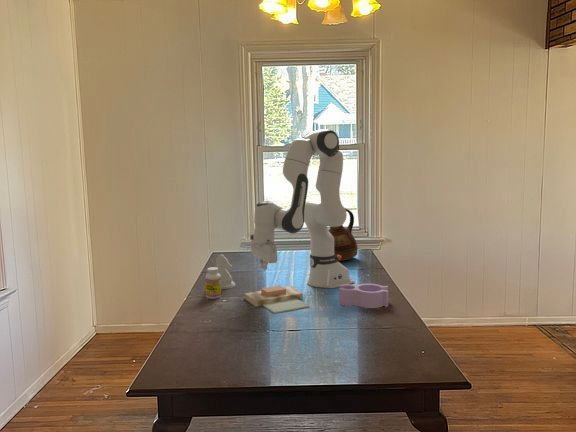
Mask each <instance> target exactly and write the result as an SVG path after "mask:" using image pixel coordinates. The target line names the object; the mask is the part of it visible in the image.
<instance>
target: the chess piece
mask: <svg viewBox="0 0 576 432" xmlns="http://www.w3.org/2000/svg"><path fill="white" fill-rule="evenodd" d="M215 267H217V268H218V273H219V274H220V275H221V290H229V289H234V288H235V287H236V283H235V281H233V276H232V275H231V274H230V272H232V270H233V265H232V264H230V262H229V260H228V258H227V257H225V255H224V254H219V255H218V256H217V257H216V259H215Z"/></svg>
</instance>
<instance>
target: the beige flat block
mask: <svg viewBox="0 0 576 432" xmlns="http://www.w3.org/2000/svg"><path fill="white" fill-rule="evenodd" d="M282 287H283V288H285V289H286V294H280V295H275V296H269V297H267V296H265V295H264V294H262V293H261V290H258V291H257V290H256V291H251V292H244V300H246V301H247V302H249V304H251V305H253V306H254V307H255V308H257V307H264V306H263V304H267V303H272V302H278V301H284V300H289V299H295V298H297V299H299V300H301V299H303V295H304V294H303V292H301V291H299V290H298V289H296V288H294V287H293V286H290V285H287V286H282Z"/></svg>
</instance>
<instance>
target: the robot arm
mask: <svg viewBox="0 0 576 432" xmlns="http://www.w3.org/2000/svg"><path fill="white" fill-rule="evenodd" d="M313 155H314V156H315V155H316V156H318V157H319V165H318V166H319V167H318V171H317V176H316V182H315V189H316V190H317V191H318V193H319V195H320V200H319V201H318V200H308V201H307V197H308V189H309V178H308V171H309V166H310V163H311V159H312V158H313ZM343 167H344V155H343V153H342V152H341V151H340V139H339V136H338V134H337V133H336V132H335V130H332V129H327V128H326V129H317V130H315V131H314V130H313V131H309V132H308V133H306V134H305V135H303V137H302V138H301V137H300V138H299V137H298V138H295V139H294V140H293V141H292V142H291V143H290V146H289V148H288V150H287V153H286V155H285V158H284V161H283V166H282V174H283V176H284V178H285V180H287V181H288V182H289V183H290V185H291V186H292V189H293V190H292V191H293V192H292V197H291V201H290V202H291V203H290V208H286V207H282V206H279V205H277V204H276V203H274V202H273V201H271V200H263V201H259V202H258V203H257V204H255V207H254V208H255V209H254V217H253V218H254V220H253V221H254V222H253V223H254V230H253V233H252V234H251V235H250V236H249V238H250V240H251V241H250V249H251V250H250V251H251V254H252V256H254V257H256V258H258V259H259V263H260V269H262V270H263V271H266V270H268V265H269V264H277V262H278V248H277V245H275V230H276V229H277V230H280V231H285V232H286V233H290V234H292V235H293V234H297V233H298V232H300V231H301V230H302V228H303V227H304V224H305V226H306V227H307V232H308V234H309V239H310V253H309V265H310V268H309V273H308V275H309V276H308V279H307V284H308V285H309V286H311V287H315V288H326V289H336V288H340V285H344V284H351V285H352V284H353V283H355V280H354V278H352V277H351V276H350V270H349V269H348V268H347V267H346V266H344V265H343V264H342V263H341V262H340V261H337V259H339V260H340V259H341V257H342V256H341V255H336V254H334V237H333V236H332V234H331V233H330V232H329V229H328V227H329V228H330V227H338V226H341V225H343V226H344V223H345V222H346V220H347V215H348V214H347V213H348V212H347V211H346V210H345V208H346V207H344V205H343V203H342V201H341V197H340V190H341V189H340V187H341V181H342V176H343Z"/></svg>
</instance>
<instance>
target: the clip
mask: <svg viewBox="0 0 576 432" xmlns="http://www.w3.org/2000/svg"><path fill="white" fill-rule="evenodd" d="M338 288H339V289H338V290H339V293H338V296H339V299H338V300H339V301H338V303H339V305H341V306H343V305H345V307H352V306H351V305H356V306H355V307H358V306H361V307H366V308H365V309H367V308H377V307H381V306H386V307H387V306H388V307H389V286H388V285H381V284H377V283H376V284H375V283H361V284H352V283H351V284H344V285H340V287H338ZM361 307H360V308H361ZM386 307H385V308H386ZM377 309H378V308H377Z"/></svg>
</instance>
